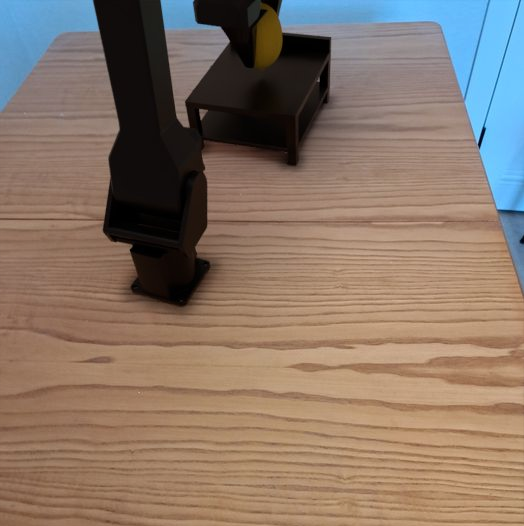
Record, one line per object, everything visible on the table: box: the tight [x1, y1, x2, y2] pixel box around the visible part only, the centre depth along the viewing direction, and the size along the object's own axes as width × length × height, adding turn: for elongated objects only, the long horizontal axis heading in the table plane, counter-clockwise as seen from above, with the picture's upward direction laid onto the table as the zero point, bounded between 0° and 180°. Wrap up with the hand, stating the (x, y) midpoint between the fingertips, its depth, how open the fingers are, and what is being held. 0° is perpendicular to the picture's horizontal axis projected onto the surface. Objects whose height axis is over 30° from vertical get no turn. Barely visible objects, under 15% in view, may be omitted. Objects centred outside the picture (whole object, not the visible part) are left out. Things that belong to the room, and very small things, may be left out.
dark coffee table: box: [184, 31, 332, 167], centre depth 74 cm, size 16×14×8 cm
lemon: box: [254, 3, 283, 71], centre depth 68 cm, size 6×6×8 cm
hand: (259, 56), depth 70 cm, fingers closed on lemon, 5 cm apart
